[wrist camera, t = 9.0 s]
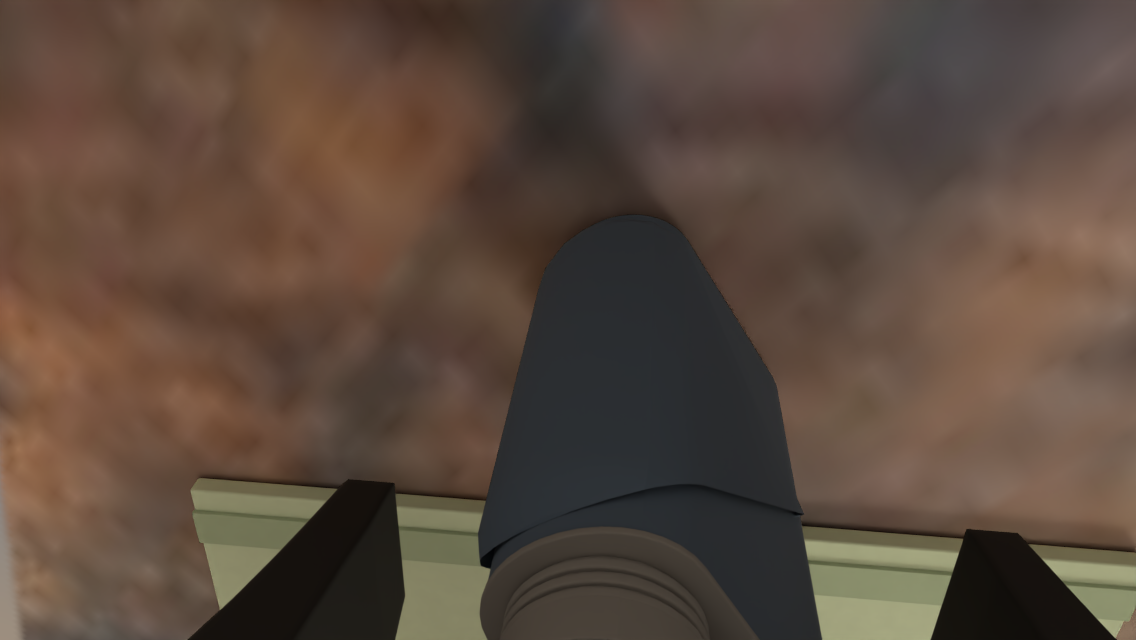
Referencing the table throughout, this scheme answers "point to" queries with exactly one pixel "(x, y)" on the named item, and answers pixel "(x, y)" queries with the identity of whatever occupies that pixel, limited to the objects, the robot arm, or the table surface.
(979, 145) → the table surface
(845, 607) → the tray
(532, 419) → the vaping device
